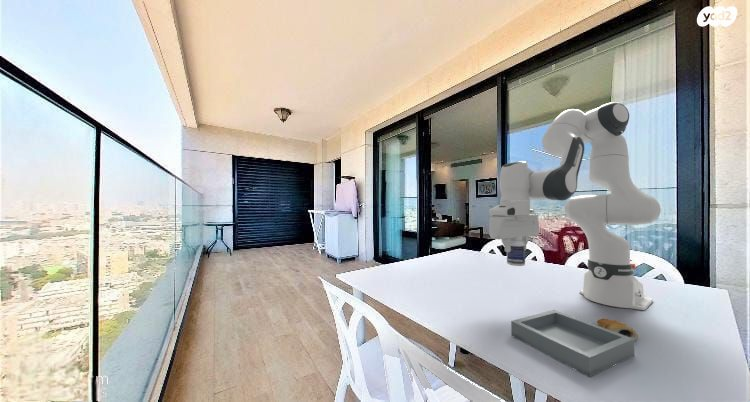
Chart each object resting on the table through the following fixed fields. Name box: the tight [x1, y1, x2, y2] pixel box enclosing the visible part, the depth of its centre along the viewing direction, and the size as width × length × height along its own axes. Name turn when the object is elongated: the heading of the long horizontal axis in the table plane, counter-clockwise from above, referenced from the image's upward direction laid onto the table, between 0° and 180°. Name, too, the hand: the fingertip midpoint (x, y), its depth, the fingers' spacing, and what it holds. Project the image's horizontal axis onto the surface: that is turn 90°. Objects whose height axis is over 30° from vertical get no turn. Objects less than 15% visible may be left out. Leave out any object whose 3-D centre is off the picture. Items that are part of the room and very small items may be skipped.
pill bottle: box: [506, 236, 526, 267], centre depth 85 cm, size 5×5×10 cm
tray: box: [510, 309, 635, 378], centre depth 64 cm, size 18×18×4 cm
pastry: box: [596, 317, 639, 342], centre depth 70 cm, size 9×7×4 cm
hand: (515, 250), depth 85 cm, fingers closed on pill bottle, 5 cm apart
